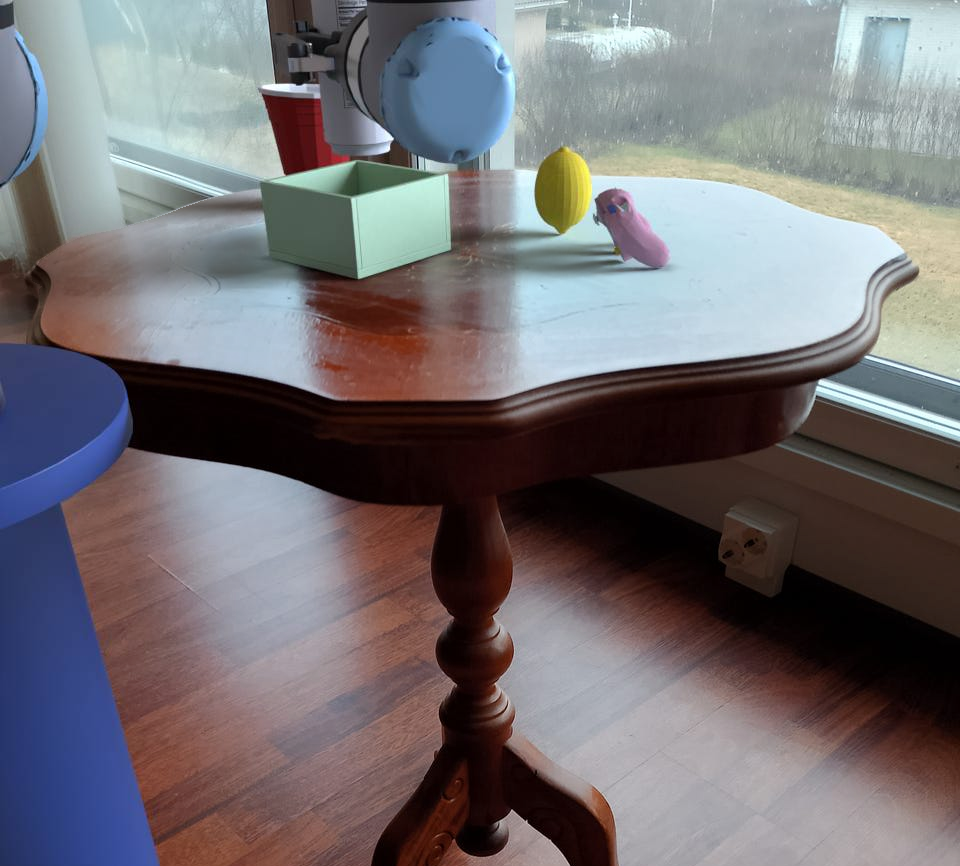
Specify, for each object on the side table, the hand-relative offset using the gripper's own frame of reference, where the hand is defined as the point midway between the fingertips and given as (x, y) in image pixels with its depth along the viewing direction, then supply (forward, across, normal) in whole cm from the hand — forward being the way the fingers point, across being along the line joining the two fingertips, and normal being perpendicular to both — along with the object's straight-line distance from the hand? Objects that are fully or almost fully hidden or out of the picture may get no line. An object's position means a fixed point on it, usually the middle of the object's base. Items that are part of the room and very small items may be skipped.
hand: (341, 38), depth 91 cm
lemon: (+1, +20, -18) cm, 27 cm away
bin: (+1, 0, -18) cm, 18 cm away
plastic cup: (+23, 0, -18) cm, 29 cm away
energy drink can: (-5, 0, -8) cm, 10 cm away
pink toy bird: (-9, +23, -18) cm, 31 cm away
